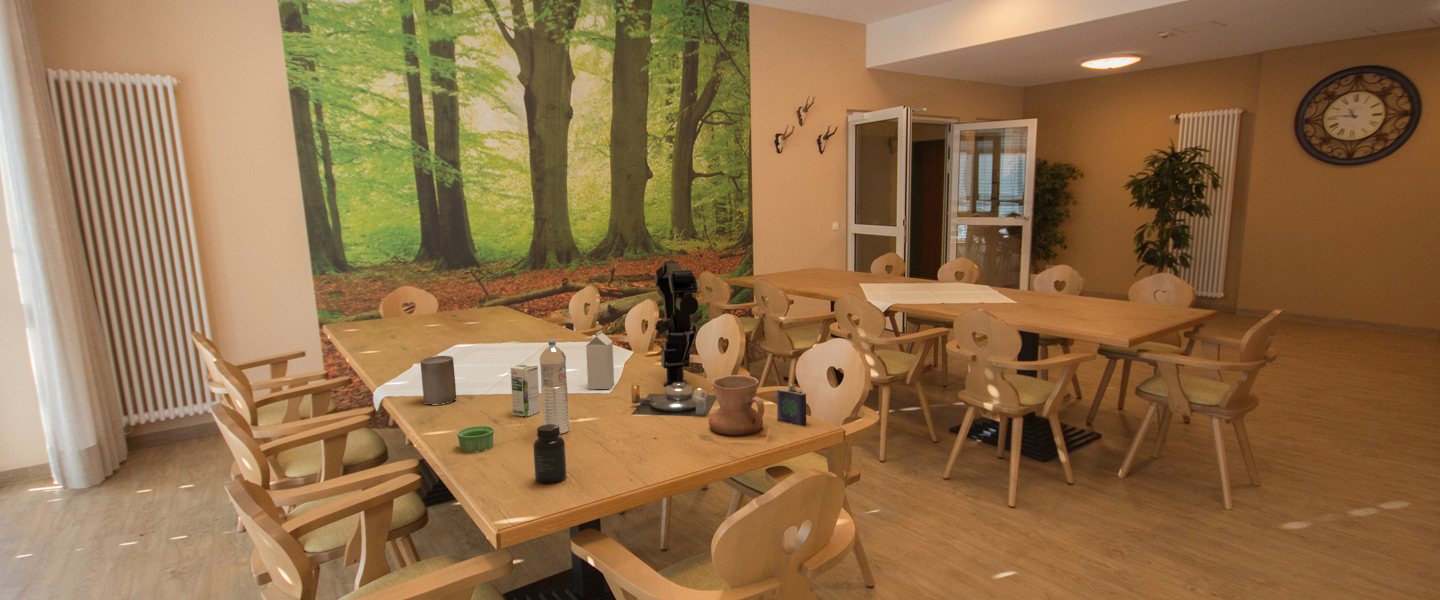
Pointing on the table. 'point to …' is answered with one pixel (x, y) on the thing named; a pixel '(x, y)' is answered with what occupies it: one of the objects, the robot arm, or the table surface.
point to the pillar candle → (438, 379)
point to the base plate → (647, 410)
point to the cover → (678, 391)
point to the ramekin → (475, 438)
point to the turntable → (662, 401)
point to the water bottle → (554, 387)
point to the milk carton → (600, 362)
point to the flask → (791, 406)
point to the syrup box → (525, 389)
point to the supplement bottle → (549, 455)
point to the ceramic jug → (736, 406)
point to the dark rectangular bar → (700, 400)
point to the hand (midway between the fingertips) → (683, 358)
